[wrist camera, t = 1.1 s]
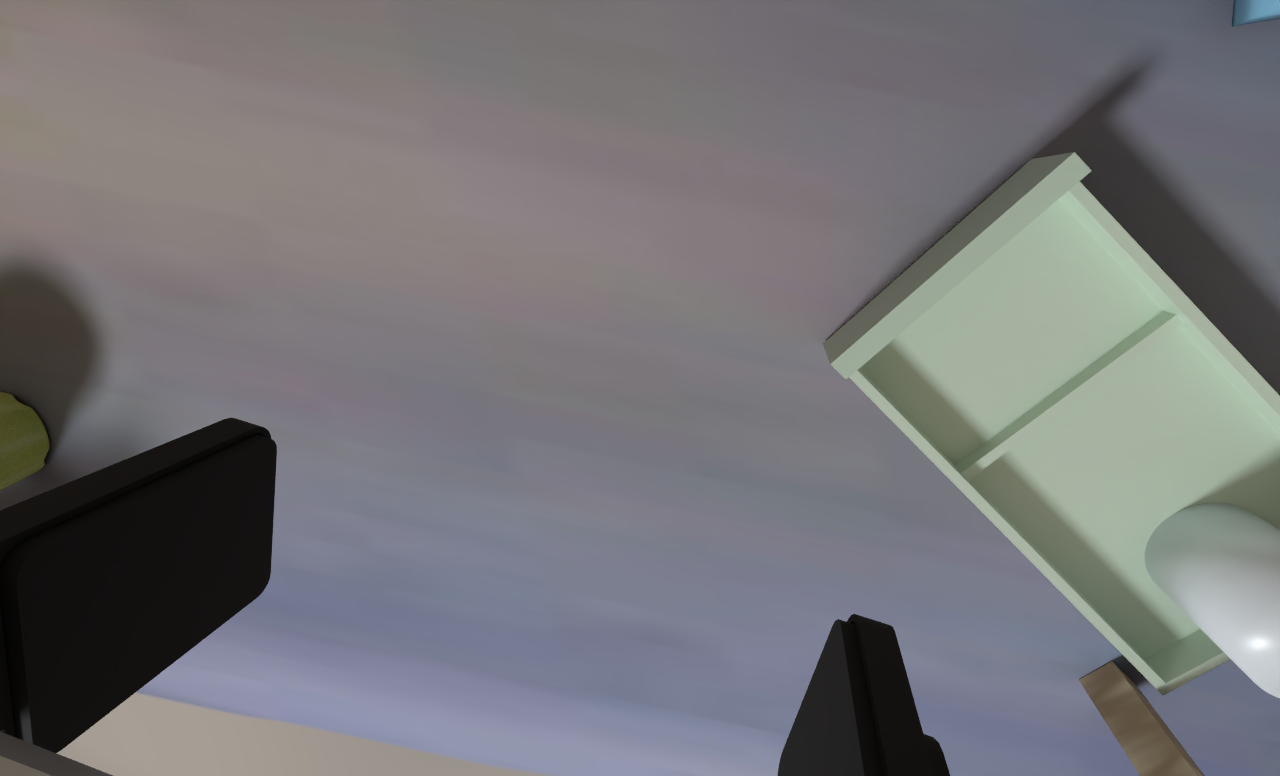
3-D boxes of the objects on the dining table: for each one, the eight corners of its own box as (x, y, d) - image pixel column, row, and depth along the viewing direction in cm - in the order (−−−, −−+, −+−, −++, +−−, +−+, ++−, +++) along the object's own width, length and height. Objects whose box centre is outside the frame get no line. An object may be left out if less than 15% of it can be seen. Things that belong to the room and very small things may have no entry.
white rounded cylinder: (1225, 481, 31) (1350, 558, 24) (1299, 559, 31) (1443, 657, 24) (1119, 547, 32) (1209, 636, 26) (1191, 621, 33) (1297, 727, 26)
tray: (1031, 159, 29) (1074, 151, 25) (1374, 525, 31) (1469, 576, 26) (823, 343, 33) (830, 363, 29) (1135, 660, 35) (1184, 723, 30)
